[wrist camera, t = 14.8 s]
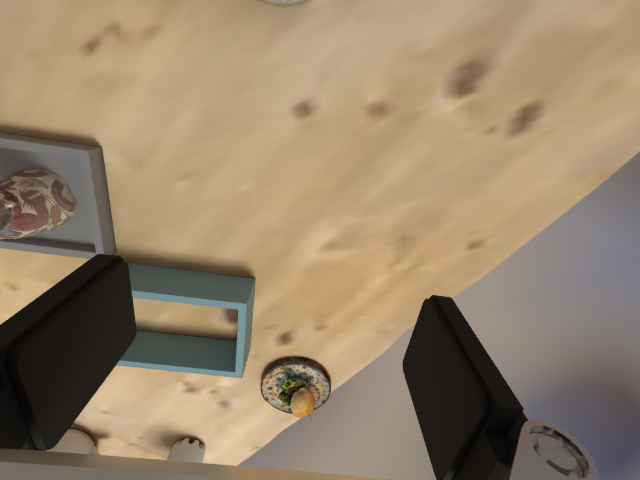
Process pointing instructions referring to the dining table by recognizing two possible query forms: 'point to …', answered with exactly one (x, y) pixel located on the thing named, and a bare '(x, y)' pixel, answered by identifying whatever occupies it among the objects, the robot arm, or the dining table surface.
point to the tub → (192, 350)
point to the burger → (296, 385)
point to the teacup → (76, 443)
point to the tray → (85, 184)
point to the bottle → (187, 451)
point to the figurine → (34, 203)
